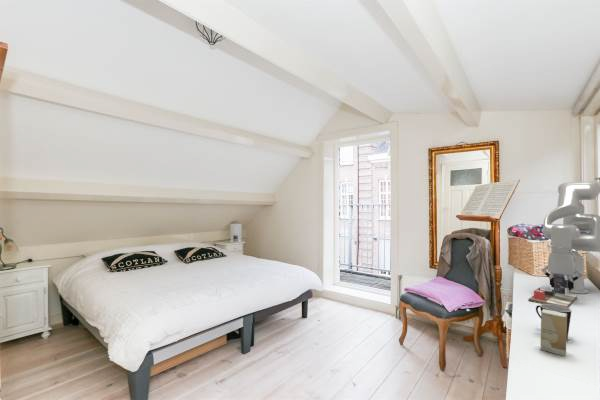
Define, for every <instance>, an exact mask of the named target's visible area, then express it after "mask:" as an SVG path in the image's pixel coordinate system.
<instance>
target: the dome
mask: <svg viewBox="0 0 600 400" xmlns="http://www.w3.org/2000/svg"><path fill="white" fill-rule="evenodd" d="M540 287H541V288H540V290H544V291H550V292H552V287H551V285H548V284H542V285H541V286H540Z"/></svg>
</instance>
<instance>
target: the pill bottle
mask: <svg viewBox="0 0 600 400" xmlns="http://www.w3.org/2000/svg"><path fill="white" fill-rule="evenodd" d="M569 281H570V279H569V277H568V276H567V275H562V274H554V287H553V290H554V292H555V293H557V294H563V295H571V293H570V290H569Z"/></svg>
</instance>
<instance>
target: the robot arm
mask: <svg viewBox="0 0 600 400" xmlns="http://www.w3.org/2000/svg"><path fill="white" fill-rule="evenodd" d="M557 191H558V199H557V205H556V208H554V209H552V210H551V211H549V213H548V214H546V215H545V218H544V219H543V224H542V235H543V237H545V238H546V239H550V248H551V249H550V252H549V255H548V260H547V265H546V266H545V267H543V268H542V269H541V272H542V273H544V275H545V276H546V277H547V278H548V279H549V286H550V288H554V274H562V275H567V276H568V277H569V279H570V281H569V290H570V294H579V295H580V294H583V295H585V294H586V295H587V294H588V293H589V290H588V289H585V260H584V257H583V255H581V253H580V252H591V253H592V252H594V253H596V252H600V215H599V214H595V213H593V214H592V213H589V214H588V213H585V205H584V204H583V203H582V202H581V201H583V200H584V201H593V200H595V199H597V198H598V196H599V195H600V184H599V182H597V181H593V180H592V181H574V182H573V181H572V182H570V181H569V182H563V183H561V184H559V185H558V187H557ZM560 219H563V224H562V223H561V224H560V223H554V222H556V221H558V220H560Z"/></svg>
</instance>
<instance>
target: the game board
mask: <svg viewBox="0 0 600 400" xmlns="http://www.w3.org/2000/svg"><path fill="white" fill-rule="evenodd" d="M540 288H541V286H540V287H538V288H537V289H535V290H540ZM551 289H552V288H551ZM541 291H544V290H541ZM577 299H578V295H572V294H569V295H563V294H557V293H555V292H554V288H553V289H552V292H550V291H545V299H544V300H540V299H534V295H532V296H531V297H529V298H528V302H531V303H536V304H540V305H541V304H553V305H559V306H563V307H567V308H569V309H570V307H571V306H572V305H573V303H574V302H575V301H576V300H577Z"/></svg>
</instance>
